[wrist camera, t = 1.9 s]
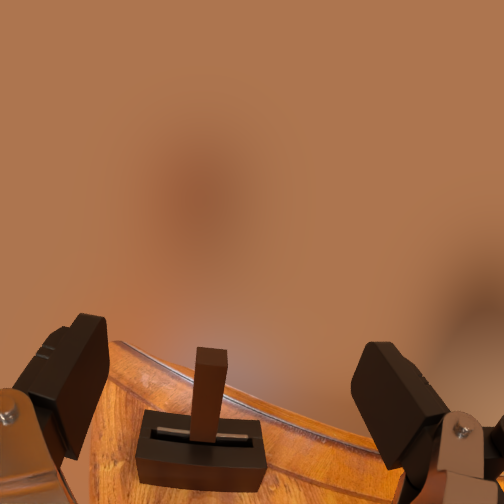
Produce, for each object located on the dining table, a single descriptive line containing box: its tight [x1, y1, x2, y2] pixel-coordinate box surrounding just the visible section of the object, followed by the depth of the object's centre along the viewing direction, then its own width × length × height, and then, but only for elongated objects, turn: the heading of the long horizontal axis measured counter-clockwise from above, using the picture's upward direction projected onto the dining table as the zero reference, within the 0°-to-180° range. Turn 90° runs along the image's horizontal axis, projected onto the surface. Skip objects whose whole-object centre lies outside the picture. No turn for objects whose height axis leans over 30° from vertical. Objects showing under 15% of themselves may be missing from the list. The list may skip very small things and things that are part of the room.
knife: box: [157, 347, 248, 448], centre depth 24 cm, size 2×8×15 cm, turn 96°
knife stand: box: [135, 409, 267, 492], centre depth 26 cm, size 6×11×5 cm, turn 95°
